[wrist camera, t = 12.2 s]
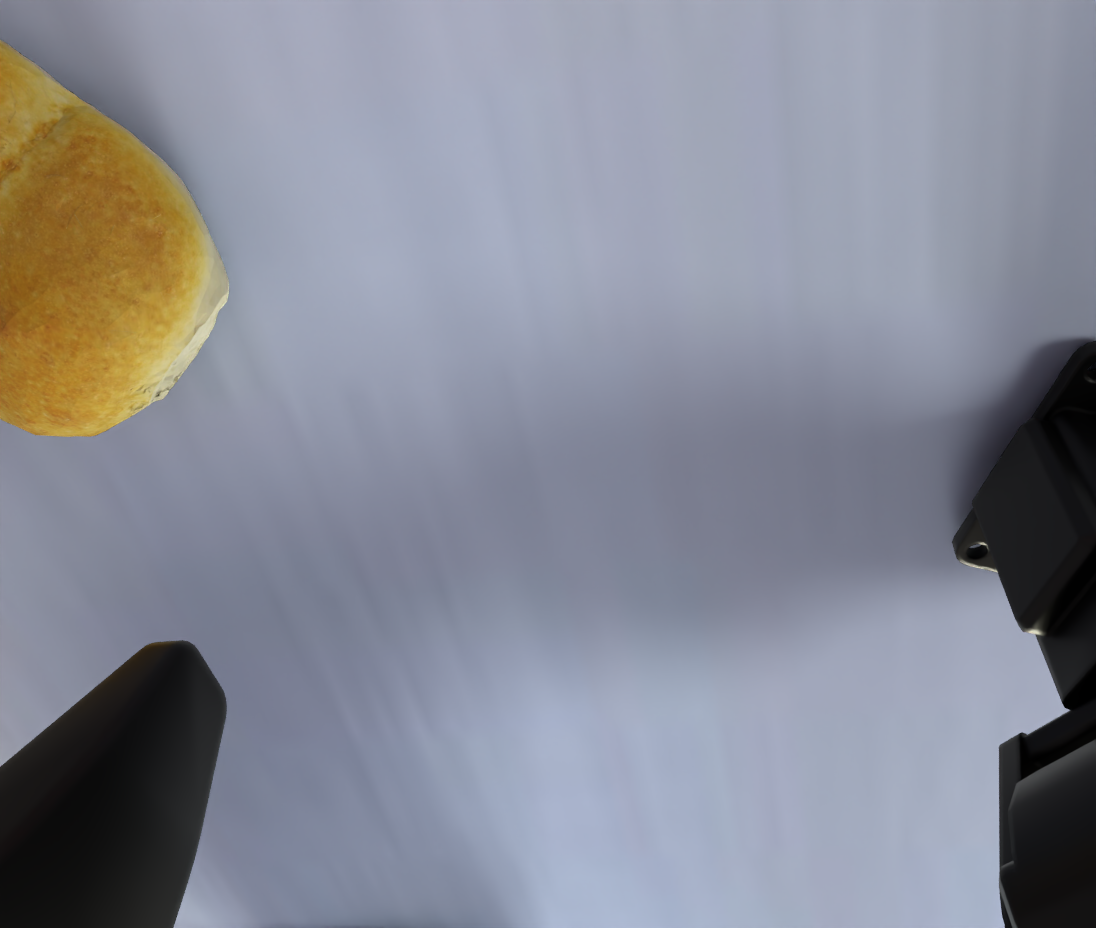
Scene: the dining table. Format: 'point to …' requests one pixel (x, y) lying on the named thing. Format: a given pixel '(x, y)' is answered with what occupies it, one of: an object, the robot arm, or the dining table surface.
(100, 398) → the bread roll
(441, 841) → the dining table surface
